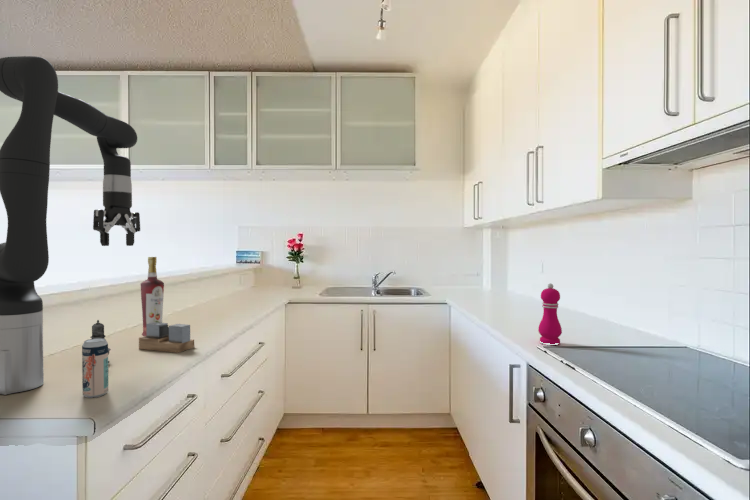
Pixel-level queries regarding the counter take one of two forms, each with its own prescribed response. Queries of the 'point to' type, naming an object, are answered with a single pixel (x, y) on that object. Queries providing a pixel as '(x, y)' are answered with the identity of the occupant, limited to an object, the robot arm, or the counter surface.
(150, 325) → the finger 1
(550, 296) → the pepper mill
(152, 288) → the liquor
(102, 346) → the beer can
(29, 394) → the counter surface
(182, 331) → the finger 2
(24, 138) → the robot arm
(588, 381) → the counter surface
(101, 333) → the dark metal lantern
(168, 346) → the wooden tray
